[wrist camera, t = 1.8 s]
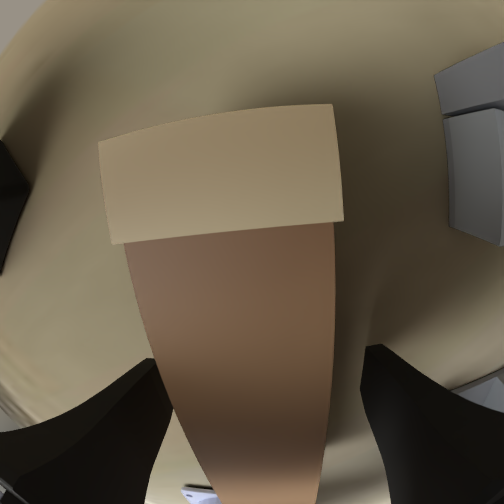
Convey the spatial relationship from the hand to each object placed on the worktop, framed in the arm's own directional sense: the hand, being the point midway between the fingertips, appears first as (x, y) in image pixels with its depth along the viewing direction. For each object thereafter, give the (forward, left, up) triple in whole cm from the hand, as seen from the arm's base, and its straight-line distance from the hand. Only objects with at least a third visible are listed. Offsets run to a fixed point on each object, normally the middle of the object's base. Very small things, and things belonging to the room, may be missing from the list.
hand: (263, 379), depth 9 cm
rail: (0, 0, -1) cm, 1 cm away
